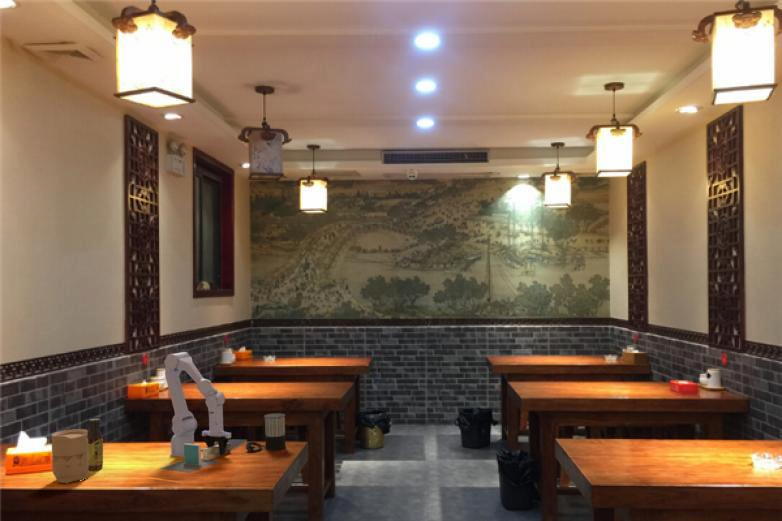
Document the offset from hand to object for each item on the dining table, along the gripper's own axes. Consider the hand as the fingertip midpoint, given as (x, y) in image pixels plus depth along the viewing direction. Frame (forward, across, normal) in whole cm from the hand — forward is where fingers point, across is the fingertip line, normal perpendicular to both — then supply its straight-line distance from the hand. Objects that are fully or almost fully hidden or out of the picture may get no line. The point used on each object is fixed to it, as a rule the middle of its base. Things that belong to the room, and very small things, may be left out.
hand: (216, 454), depth 293 cm
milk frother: (+2, +12, +18) cm, 22 cm away
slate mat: (+1, 0, -15) cm, 15 cm away
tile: (+1, 0, -14) cm, 14 cm away
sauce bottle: (+2, -36, -32) cm, 48 cm away
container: (+2, -31, -47) cm, 56 cm away
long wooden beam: (+1, 0, 0) cm, 1 cm away
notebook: (+2, -10, +16) cm, 19 cm away
